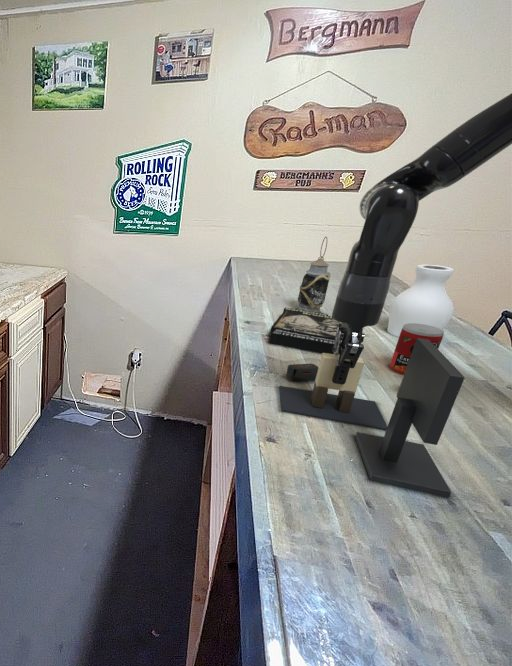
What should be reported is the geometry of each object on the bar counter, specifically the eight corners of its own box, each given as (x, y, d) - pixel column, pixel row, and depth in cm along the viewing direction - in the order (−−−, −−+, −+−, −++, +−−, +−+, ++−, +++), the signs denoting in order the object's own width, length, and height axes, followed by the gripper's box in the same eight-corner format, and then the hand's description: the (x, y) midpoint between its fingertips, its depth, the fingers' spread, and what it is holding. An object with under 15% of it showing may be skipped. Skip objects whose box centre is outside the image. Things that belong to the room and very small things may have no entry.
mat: (374, 403, 97) (374, 401, 96) (387, 431, 87) (388, 428, 86) (279, 387, 103) (279, 385, 103) (281, 411, 93) (282, 409, 93)
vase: (374, 324, 143) (394, 260, 135) (428, 328, 140) (452, 263, 132) (394, 340, 131) (417, 271, 123) (453, 345, 127) (481, 274, 119)
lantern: (323, 315, 152) (343, 239, 142) (296, 313, 154) (314, 237, 145) (318, 308, 159) (337, 235, 149) (292, 306, 162) (309, 234, 152)
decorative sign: (264, 331, 128) (285, 307, 150) (262, 342, 129) (283, 316, 151) (352, 348, 117) (360, 318, 139) (349, 359, 118) (357, 328, 140)
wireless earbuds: (320, 380, 107) (323, 368, 105) (291, 382, 106) (294, 369, 105) (307, 372, 111) (310, 360, 110) (279, 373, 110) (282, 361, 109)
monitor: (419, 447, 82) (461, 343, 74) (451, 502, 68) (505, 382, 60) (354, 434, 86) (386, 334, 78) (371, 484, 72) (412, 369, 64)
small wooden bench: (346, 403, 95) (361, 356, 91) (350, 413, 92) (365, 364, 87) (309, 397, 98) (322, 351, 94) (311, 406, 94) (324, 358, 90)
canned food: (389, 372, 111) (403, 330, 106) (388, 361, 117) (402, 321, 112) (429, 380, 107) (446, 336, 102) (426, 368, 113) (442, 326, 108)
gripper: (394, 309, 78) (365, 398, 85) (376, 290, 90) (352, 369, 97) (343, 304, 81) (319, 390, 88) (332, 286, 93) (312, 364, 100)
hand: (336, 379), depth 92 cm, fingers closed on small wooden bench, 3 cm apart
